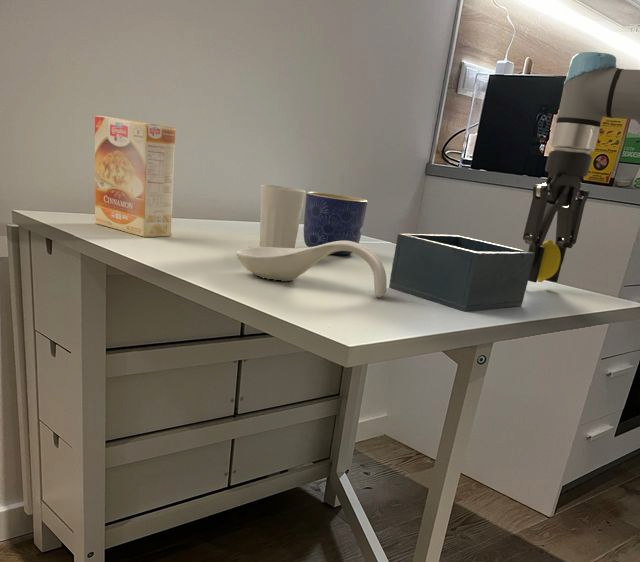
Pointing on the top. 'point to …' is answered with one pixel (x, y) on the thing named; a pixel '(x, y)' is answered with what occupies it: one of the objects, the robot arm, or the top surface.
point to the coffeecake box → (134, 176)
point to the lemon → (549, 261)
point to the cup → (280, 215)
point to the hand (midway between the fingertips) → (540, 280)
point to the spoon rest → (306, 261)
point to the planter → (333, 219)
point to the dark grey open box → (460, 271)
